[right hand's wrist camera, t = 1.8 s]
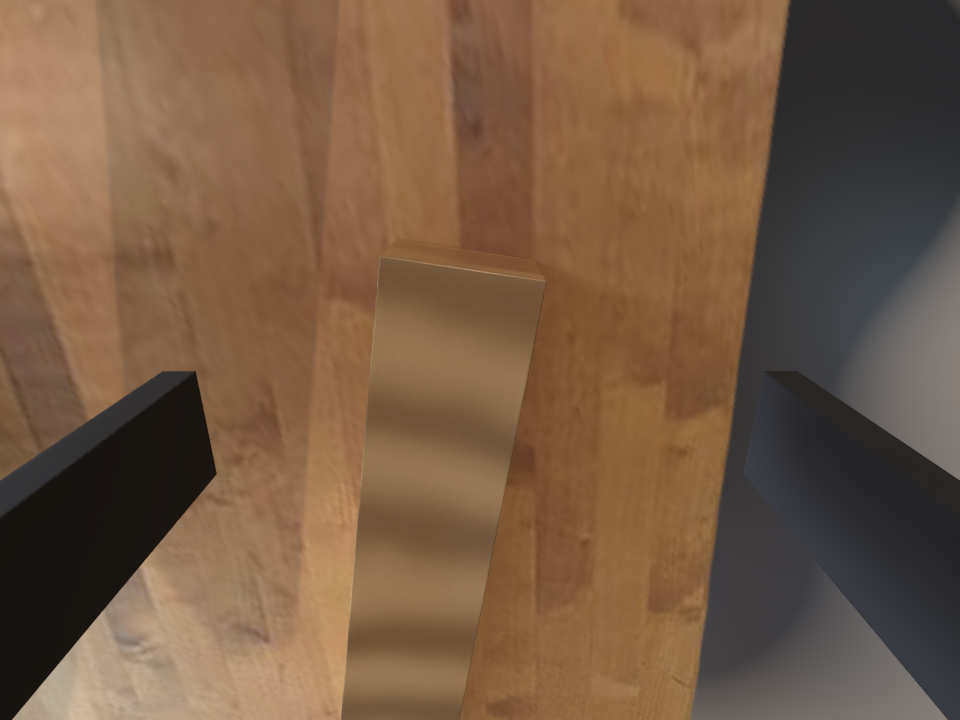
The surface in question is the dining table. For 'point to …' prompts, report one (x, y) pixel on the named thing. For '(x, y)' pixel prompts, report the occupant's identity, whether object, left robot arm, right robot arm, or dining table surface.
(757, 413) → the right robot arm
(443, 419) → the thick board
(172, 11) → the dining table surface
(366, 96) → the dining table surface
